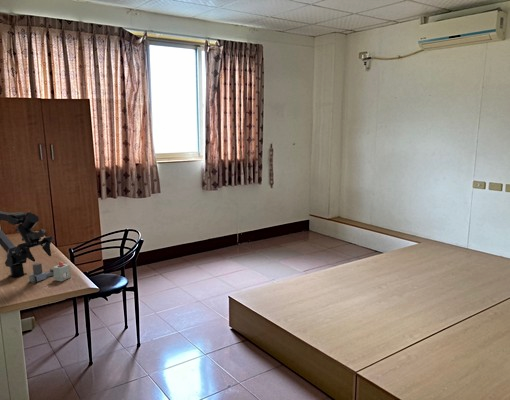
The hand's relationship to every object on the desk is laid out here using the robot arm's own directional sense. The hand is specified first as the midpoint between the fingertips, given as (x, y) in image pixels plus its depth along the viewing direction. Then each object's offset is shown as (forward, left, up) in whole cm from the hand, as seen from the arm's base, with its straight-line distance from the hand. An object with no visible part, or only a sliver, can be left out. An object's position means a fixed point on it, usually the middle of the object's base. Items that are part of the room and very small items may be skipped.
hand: (42, 258), depth 219 cm
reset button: (+6, +6, -7) cm, 10 cm away
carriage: (-5, 0, -12) cm, 13 cm away
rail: (-5, +2, -12) cm, 13 cm away
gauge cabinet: (+6, +6, -12) cm, 15 cm away
